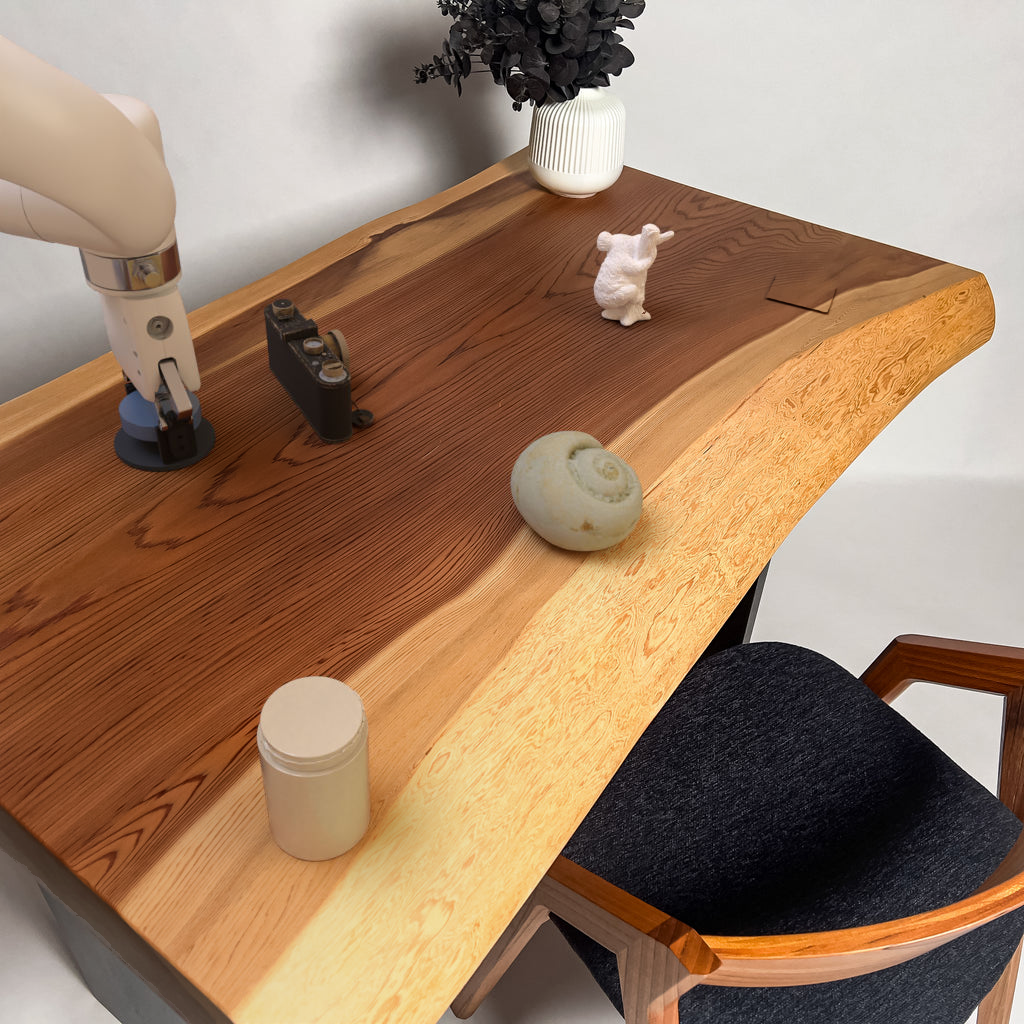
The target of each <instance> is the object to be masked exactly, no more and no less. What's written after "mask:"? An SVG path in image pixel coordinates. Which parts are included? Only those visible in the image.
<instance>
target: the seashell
mask: <svg viewBox="0 0 1024 1024" xmlns="http://www.w3.org/2000/svg"><path fill="white" fill-rule="evenodd" d="M510 490H511V496H512V497H511V498H512V500H513V502H514V505H515V507H516V509H517V510H518V512H519V514H520V515H521V517H522V518H523V519H524V521H525V522H526V523H527V524H528V525H529V527H530V528H531V529H532V530H533V531H534V532H535V533H536V534H537V535H539V536H540V537H541V538H542V539H544V540H546V541H547V542H548V543H550V544H552V545H553V546H557V547H558V548H561V549H565V550H568V551H576V552H593V551H595V552H596V551H601V550H605V549H608V548H610V547H614V546H615V545H617V544H618V543H620V542H621V541H623V540H625V539H626V538H627V537H628V536H629V535H630V534H631V533H632V531H634V529H635V528H636V526H637V524H638V522H639V520H640V518H641V515H642V511H643V506H644V495H643V494H644V493H643V487H642V483H641V481H640V479H639V476H638V474H637V473H636V470H635V469H634V468H633V467H632V466H631V465H630V464H628V463H627V462H626V461H625V460H624V459H623V458H621V457H620V456H619V455H617V454H616V453H614V452H613V451H610V450H608V449H605V447H604V446H603V445H602V443H601V442H600V441H599V440H597V439H596V438H595V437H593V435H591V434H589V433H587V432H583V431H578V430H562V431H556V432H552V433H549V434H545V435H544V436H541V437H539V438H538V439H536V440H535V441H534V440H533V442H532V443H530V444H529V445H528V446H527V447H526V448H525V449H524V450H523V451H522V452H521V454H519V456H518V458H517V459H516V461H515V463H514V465H513V468H512V471H511V475H510Z"/></svg>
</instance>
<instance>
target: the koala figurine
mask: <svg viewBox="0 0 1024 1024" xmlns="http://www.w3.org/2000/svg"><path fill="white" fill-rule="evenodd" d="M673 237H675V232H674V231H673V230H668V231H666V232H664V233H661V230H660V228H659V227H658V226H657V225H655V224H654V223H647V224H645V225H643V226H642V229H641V233H638V234H636V235H629V234H624V233H615V234H611V233H610V232H609V231H602V232H600V233H599V235H598V236H597V239H596V248H597V250H598V251H600V252H606V256H605V258H604V259H603V260H604V261H603V262H601V264H600V268H599V270H598V273H597V276H596V279H595V282H594V284H593V295H594V299H595V302H596V303H597V305H598V306H600V307H601V308H602V309H604V310H603V311H602V312H601V316H602V318H604V319H606V320H611V321H612V320H613V321H614V320H615V321H619V322H620V324H621V325H622V326H624V327H627V326H632V324H634V323H636V322H638V321H646V320H651V319H652V318H651V314H650V313H649V312H648V311H646V310H645V309H644V308H643V304H644V301H645V300H646V298H645V294H646V283H647V280H648V279H647V277H648V270H649V268H651V266H652V265H653V263H654V262H655V260H656V258H657V255H658V254H657V253H658V249H657V246H658V245H661V244H662V243H665V242H667V241H669V240H670V239H672V238H673ZM645 311H646V313H645V314H642V313H643V312H645Z"/></svg>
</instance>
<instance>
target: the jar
mask: <svg viewBox="0 0 1024 1024" xmlns="http://www.w3.org/2000/svg"><path fill="white" fill-rule="evenodd" d="M369 731H370V730H369V721H368V717H367V714H366V709H365V705H364V703H363V700H362V698H361V696H360V695H359V693H358V692H357V690H356V689H354V690H353V689H352V688H351V687H350V686H348V685H347V684H346V683H345V682H342V681H340V680H339V679H335V678H334V677H333V678H332V677H329V676H321V675H320V676H319V675H318V676H316V675H313V676H312V675H311V676H304V677H299V678H296V679H294V680H291V681H288V682H287V683H284V684H283V685H282V686H279V687H278V688H277V689H276V690H274V691H273V693H271V694H270V695H269V697H268V698H267V700H266V701H265V702H264V705H263V706H262V709H261V711H260V716H259V724H258V726H257V731H256V744H257V751H258V758H259V765H260V770H261V777H262V784H263V791H264V796H265V803H266V811H267V817H268V825H269V830H270V833H271V836H272V838H273V840H274V841H275V843H276V844H277V845H278V847H279V848H280V849H281V850H282V851H283V852H285V853H286V854H288V855H289V856H292V857H294V858H296V859H300V860H304V861H310V862H320V861H327V860H331V859H334V858H335V859H336V858H337V857H340V856H342V855H344V854H345V853H347V852H349V851H350V850H351V849H352V848H354V847H355V846H356V845H357V844H358V843H360V841H361V839H362V838H363V837H364V835H365V833H366V832H367V830H368V827H369V825H370V820H371V773H370V772H371V771H370V736H369V735H370V733H369Z"/></svg>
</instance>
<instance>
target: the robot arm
mask: <svg viewBox="0 0 1024 1024" xmlns="http://www.w3.org/2000/svg"><path fill="white" fill-rule="evenodd" d="M163 145H164V144H163V138H162V133H161V127H160V121H159V120H158V117H157V114H156V112H155V111H154V110H153V108H152V107H151V106H150V105H149V104H148V103H147V102H145V101H143V100H141V99H139V98H137V97H135V96H131V95H128V94H127V95H126V94H121V93H113V92H112V93H111V92H97V91H95V90H94V89H93V88H92V87H90V86H89V85H87V84H85V83H84V82H82V81H80V80H79V79H77V78H75V76H72V75H71V74H69V73H67V72H66V71H63V70H62V69H60V68H58V67H57V66H55V65H54V64H51V63H49V62H48V61H46V60H44V59H42V58H40V57H39V56H38V55H35V54H34V53H32V52H30V51H29V50H27V49H26V48H24V47H22V46H20V45H19V44H17V43H16V42H13V40H11V39H9V38H8V37H5V36H3V34H0V233H2V234H6V235H11V236H14V237H20V238H26V239H31V240H36V241H41V242H44V243H50V244H58V245H64V246H69V247H74V248H78V252H79V257H80V260H81V261H80V262H81V267H82V270H83V275H84V280H85V282H86V284H87V286H88V287H89V288H90V289H91V290H93V291H94V292H97V293H98V294H99V298H100V306H101V311H102V317H103V321H104V326H105V331H106V334H107V339H108V342H109V345H110V349H111V352H112V355H113V356H114V358H115V360H116V362H117V364H118V365H119V366H120V368H121V373H122V377H123V379H124V381H125V382H126V383H124V389H125V393H126V396H127V395H129V394H131V393H132V392H134V391H137V390H138V391H139V392H140V394H141V395H142V396H143V397H144V399H146V400H148V401H150V402H151V403H152V406H153V409H154V412H155V415H156V419H157V422H158V426H155V431H156V436H157V441H158V446H159V451H160V457H161V460H162V462H163V463H164V464H166V465H167V464H171V463H174V462H177V461H181V460H184V459H187V458H191V457H194V456H196V455H197V453H198V451H197V445H196V438H195V432H194V426H193V418H192V412H193V408H192V405H191V403H190V400H189V398H188V395H187V393H186V390H185V389H187V390H189V391H190V392H192V393H193V392H199V390H200V389H201V385H202V382H201V377H200V373H199V367H198V362H197V357H196V352H195V347H194V343H193V337H192V334H191V328H190V325H189V319H188V317H187V316H188V315H187V312H186V309H185V304H184V301H183V299H182V295H181V292H180V289H179V287H178V283H179V282H180V280H182V279H181V278H182V276H183V271H182V264H181V259H180V258H181V257H180V249H179V244H178V238H177V230H176V223H175V220H176V216H177V215H176V214H177V197H176V196H177V195H176V189H175V185H174V182H173V179H172V176H171V174H170V171H169V169H168V167H167V164H166V157H165V152H164V146H163ZM163 385H164V386H165V389H166V392H162V393H158V394H156V392H158V389H159V386H163ZM168 399H170V401H171V404H172V407H171V409H172V410H170V411H168V412H167V413H166V415H165V414H164V411H163V408H162V404H161V401H165V400H168Z"/></svg>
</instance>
